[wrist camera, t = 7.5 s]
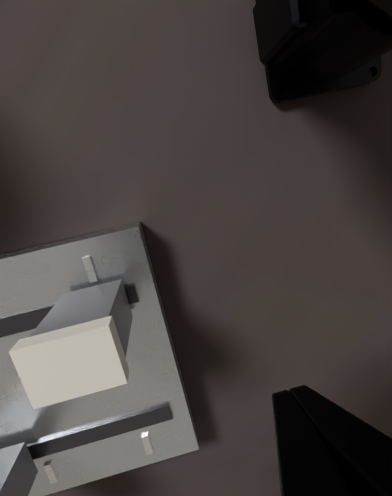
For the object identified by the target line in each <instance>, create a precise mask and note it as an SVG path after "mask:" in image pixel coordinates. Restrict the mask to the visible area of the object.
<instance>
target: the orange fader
mask: <svg viewBox="0 0 392 496" xmlns="http://www.w3.org/2000/svg"><path fill="white" fill-rule="evenodd" d="M37 473H38V470H37V468H36V465H35V463H34V461H33V459H32V457H31V454H30V452H29V450H28V448H27V446H26V444H25V442H23V443H19V444H16V445H12V446H9V447H5V448H2V449H0V496H28V495H29V493H30V490H31V488H32V485H33V483H34V480H35V478H36V475H37Z"/></svg>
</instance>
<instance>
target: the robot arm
mask: <svg viewBox="0 0 392 496" xmlns="http://www.w3.org/2000/svg"><path fill="white" fill-rule="evenodd" d="M253 15H254V22H255V29H256V36H257V43H258V50H259V56H260V61H261V62H262V63H263V64H264V65H265V70H266V77H267V84H268V91H269V96H270V99H271V100H272V101H273V102H275V103H280V102H284V101H289V100H294V99H298V98H303V97H308V96H313V95H317V94H322V93H327V92H331V91H336V90H341V89H345V88H350V87H355V86H359V85H364V84H369V83H371V82H373V81H375V80H377V79H378V78H379V77H380V74H381V55H383V54H385V53H387V52H388V51H390V50H392V0H256V5H255V7H254V8H253ZM369 69H370V70H371V71H372V76H370V75H369ZM277 88H279V89H281V91H282V95H281V96H278V95H277V93H276V89H277ZM272 403H273V414H274V424H275V435H276V446H277V456H278V467H279V477H280V488H281V496H392V438H390V437H389V436H387V435H385V434H384V433H382V432H380V431H379V430H377V429H376V428H374V427H372V426H371V425H369V424H367V423H366V422H364V421H363V420H361V419H359V418H358V417H356V416H355V415H353V414H351V413H350V412H348V411H346V410H345V409H343V408H342V407H340V406H338V405H337V404H335V403H334V402H332V401H330V400H329V399H327V398H325V397H324V396H322V395H321V394H319V393H317V392H316V391H314V390H312V389H311V388H309V387H308V386H305V385H302V386H298V387H294V388H291V389H290V390H289V391H287V390H284V391H280V392H277V393H273V394H272Z"/></svg>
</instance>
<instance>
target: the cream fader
mask: <svg viewBox="0 0 392 496" xmlns="http://www.w3.org/2000/svg"><path fill="white" fill-rule="evenodd" d="M132 318H133V315H132V312H131V309H130V305H129V302H128V299H127V295H126V292H125V289H124V285H123V282H122V279H120V280H116V281H112V282H108V283H104V284H100V285H96V286H92V287H88V288H84V289H80V290H76V291H72V292H68V293H64V294H63V295H62V297H61V298H60V299H59V300H58V301H57V303H56V304H55V305H54V306H53V308H52V309H51V310H50V311H49V313H48V314H47V315H46V316H45V317H44V319H43V320H42V321H41V322H40V324H39V325H38V326H37V327H36V329H35V330H34V331H33V332H32V333H31V335H30V336H29V337H27V338H23V339H19V340H18V342H17V343H16V344H15V345H14V346H13V347H12V349H11V350H10V351H9V354H10V356H11V359H12V361H13V363H14V366H15V368H16V370H17V372H18V375H19V377H20V379H21V382H22V384H23V386H24V389H25V391H26V393H27V396H28V398H29V400H30V402H31V405H32V407H33V409H38V408H41V407H45V406H48V405H52V404H56V403H59V402H63V401H66V400H70V399H74V398H77V397H81V396H84V395H88V394H92V393H95V392H99V391H102V390H106V389H110V388H113V387H117V386H120V385H124V384H128V377H129V367H128V364H127V361H126V353H127V347H128V341H129V336H130V330H131V324H132Z"/></svg>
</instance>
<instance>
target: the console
mask: <svg viewBox="0 0 392 496" xmlns="http://www.w3.org/2000/svg"><path fill="white" fill-rule="evenodd" d="M120 279H122V282H123V285H124V289H125V292H126V295H127V299H128V302H129V305H130V309H131V312H132V315H133V318H132V324H131V330H130V336H129V341H128V347H127V353H126V361H127V364H128V367H129V377H128V384H124V385H120V386H117V387H113V388H110V389H106V390H102V391H99V392H95V393H92V394H88V395H84V396H81V397H77V398H74V399H70V400H66V401H63V402H59V403H56V404H52V405H48V406H45V407H41V408H38V409H33V407H32V405H31V402H30V400H29V398H28V396H27V393H26V391H25V389H24V386H23V384H22V382H21V379H20V377H19V375H18V372H17V370H16V368H15V366H14V363H13V361H12V359H11V356H10V354H9V351H10V350H11V349H12V347H13V346H14V345H15V344H16V343H17V342H18V340H19V339H23V338H27V337H29V336H30V335H31V333H32V332H33V331H34V330H35V329H36V327H37V326H38V325H39V324H40V322H41V321H42V320H43V319H44V317H45V316H46V315H47V314H48V313H49V311H50V310H51V309H52V308H53V306H54V305H55V304H56V303H57V301H58V300H59V299H60V298H61V297H62V295H63V294H64V293H68V292H72V291H76V290H80V289H84V288H88V287H92V286H96V285H100V284H104V283H108V282H112V281H116V280H120ZM23 442H25V444H26V446H27V448H28V450H29V452H30V454H31V457H32V459H33V461H34V463H35V465H36V468H37V470H38V473H37V475H36V478H35V480H34V483H33V485H32V488H31V490H30V493H29V495H28V496H45V495H48V494H52V493H55V492H58V491H62V490H65V489H68V488H72V487H75V486H78V485H82V484H85V483H88V482H92V481H95V480H98V479H102V478H105V477H108V476H112V475H115V474H118V473H122V472H125V471H128V470H132V469H135V468H138V467H142V466H145V465H148V464H152V463H155V462H158V461H162V460H165V459H168V458H172V457H175V456H178V455H182V454H185V453H188V452H192V451H195V450H198V449H199V446H198V440H197V433H196V427H195V422H194V419H193V415H192V411H191V407H190V404H189V400H188V396H187V393H186V389H185V385H184V382H183V378H182V374H181V370H180V367H179V363H178V359H177V356H176V352H175V348H174V344H173V341H172V337H171V333H170V330H169V326H168V322H167V319H166V315H165V311H164V307H163V304H162V300H161V296H160V293H159V289H158V285H157V281H156V278H155V274H154V270H153V267H152V263H151V259H150V256H149V252H148V248H147V244H146V241H145V237H144V233H143V230H142V226H141V222H136V223H132V224H127V225H123V226H119V227H115V228H110V229H106V230H102V231H98V232H94V233H89V234H85V235H81V236H77V237H72V238H68V239H64V240H60V241H55V242H51V243H47V244H43V245H39V246H34V247H30V248H26V249H22V250H17V251H13V252H9V253H5V254H1V255H0V449H2V448H5V447H9V446H12V445H16V444H19V443H23Z"/></svg>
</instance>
